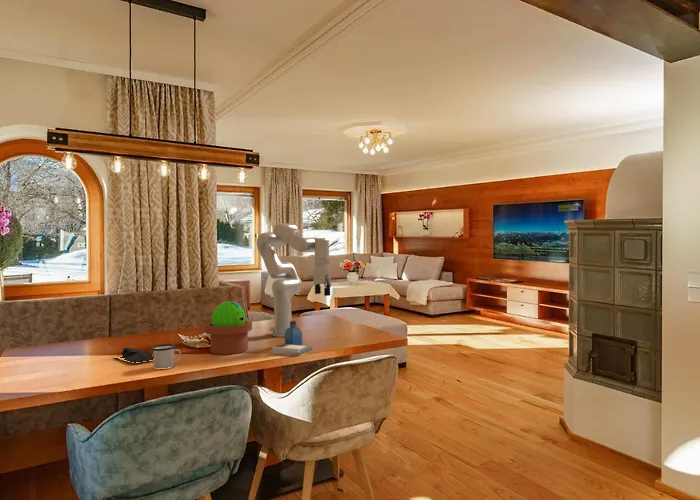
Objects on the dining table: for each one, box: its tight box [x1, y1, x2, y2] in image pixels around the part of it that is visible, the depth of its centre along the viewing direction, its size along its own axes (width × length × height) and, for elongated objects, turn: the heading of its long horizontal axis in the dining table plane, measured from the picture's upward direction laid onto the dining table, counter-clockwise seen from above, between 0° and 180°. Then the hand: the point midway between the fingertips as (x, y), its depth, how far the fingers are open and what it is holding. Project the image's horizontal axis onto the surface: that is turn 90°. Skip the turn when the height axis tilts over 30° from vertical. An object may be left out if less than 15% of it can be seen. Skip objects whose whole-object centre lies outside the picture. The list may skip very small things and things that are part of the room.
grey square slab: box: [271, 344, 313, 357], centre depth 228 cm, size 14×14×3 cm
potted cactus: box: [204, 300, 253, 356], centre depth 232 cm, size 22×22×25 cm
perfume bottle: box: [284, 320, 303, 346], centre depth 242 cm, size 6×6×12 cm
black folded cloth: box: [118, 347, 153, 363], centre depth 220 cm, size 15×22×5 cm
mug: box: [151, 343, 182, 368], centre depth 205 cm, size 12×10×9 cm
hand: (322, 294), depth 245 cm, fingers open, 9 cm apart
